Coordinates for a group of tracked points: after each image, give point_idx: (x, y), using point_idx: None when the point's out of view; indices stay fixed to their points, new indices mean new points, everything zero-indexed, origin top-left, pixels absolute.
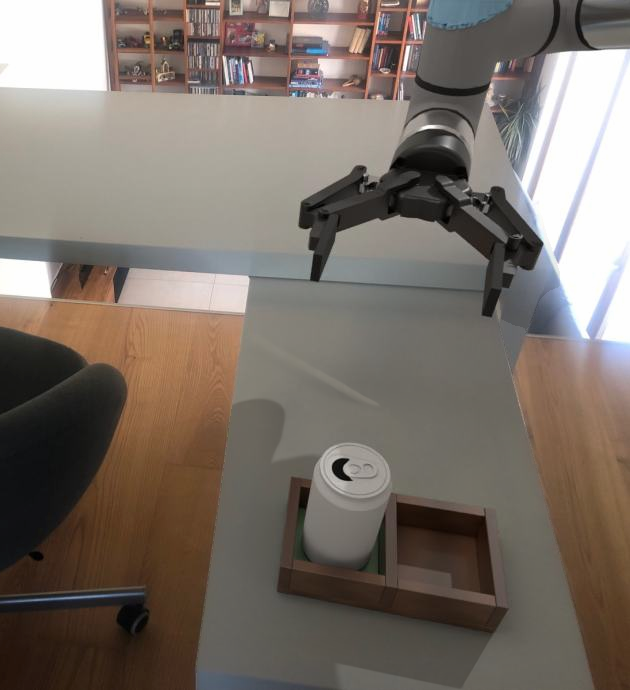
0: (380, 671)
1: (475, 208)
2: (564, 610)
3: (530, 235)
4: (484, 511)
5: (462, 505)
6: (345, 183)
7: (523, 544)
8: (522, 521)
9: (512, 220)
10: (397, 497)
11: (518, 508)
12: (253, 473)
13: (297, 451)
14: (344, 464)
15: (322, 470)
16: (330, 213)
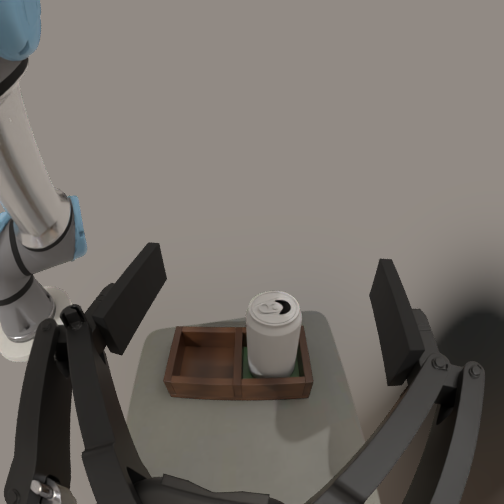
0: (242, 321)
1: (83, 433)
2: (140, 358)
3: (41, 341)
4: (170, 379)
5: (185, 381)
6: (445, 487)
7: (147, 392)
8: (141, 407)
9: (39, 384)
10: (232, 381)
11: (140, 417)
12: (339, 412)
13: (311, 442)
14: (279, 348)
15: (296, 302)
16: (426, 359)
